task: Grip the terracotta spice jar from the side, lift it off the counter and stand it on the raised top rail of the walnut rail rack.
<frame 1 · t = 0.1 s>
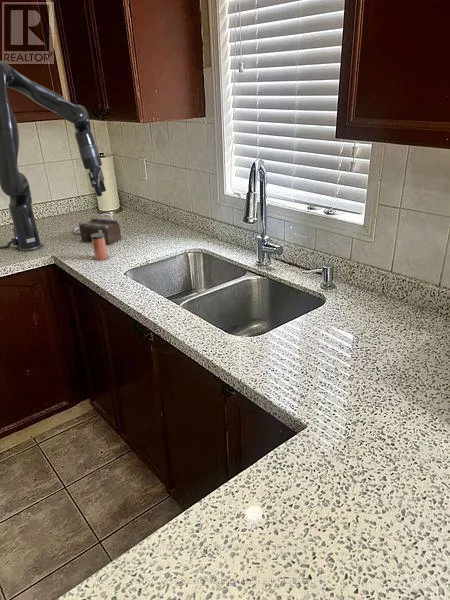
hand: (101, 193, 194), 22 cm above the worktop, tool pointing down, fingers open, 8 cm apart
spice jar: (101, 257, 186), on the worktop
rail rack: (101, 239, 208), on the worktop
hook: (94, 229, 225), on the worktop
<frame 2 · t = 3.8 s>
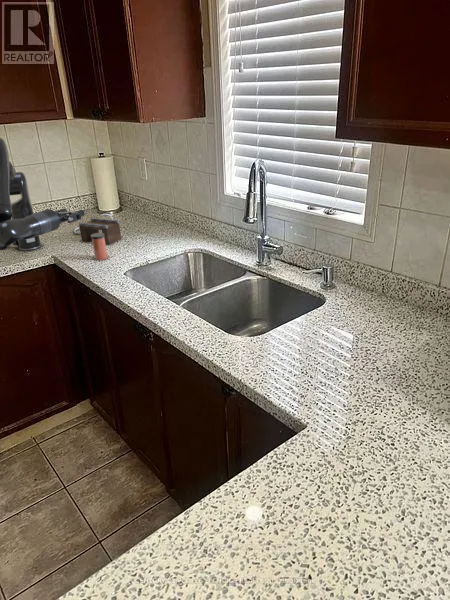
hand: (74, 211, 168), 22 cm above the worktop, tool horizontal, fingers open, 8 cm apart
nothing on the worktop moved.
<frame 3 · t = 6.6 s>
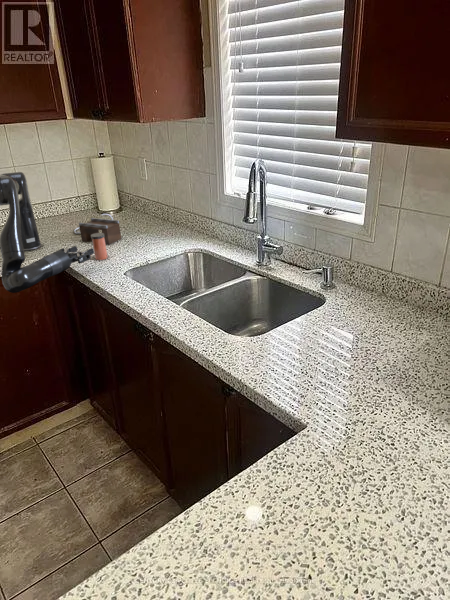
hand: (84, 249, 177), 7 cm above the worktop, tool horizontal, fingers open, 8 cm apart
nothing on the worktop moved.
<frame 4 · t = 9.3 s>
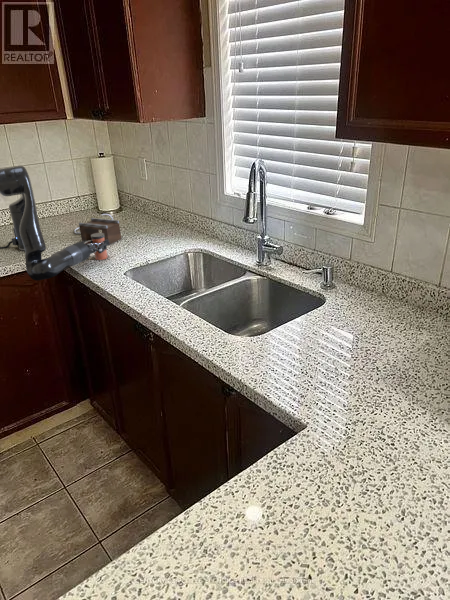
hand: (103, 241, 186), 7 cm above the worktop, tool horizontal, fingers closed on spice jar, 5 cm apart
spice jar: (101, 257, 186), on the worktop, touching gripper
everything else where it was.
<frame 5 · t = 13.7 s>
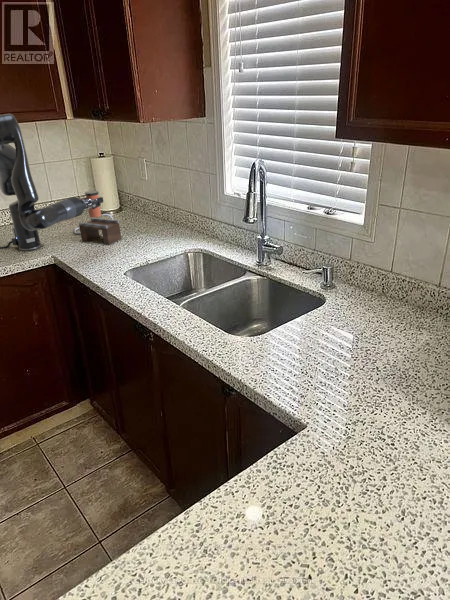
hand: (97, 199, 188), 22 cm above the worktop, tool horizontal, fingers closed on spice jar, 5 cm apart
spice jar: (95, 215, 189), point 15 cm above the worktop, touching gripper
everything else where it was.
when the fingers open (14 cm above the worktop, at t = 18.2 s): spice jar stays where it is, resting on rail rack.
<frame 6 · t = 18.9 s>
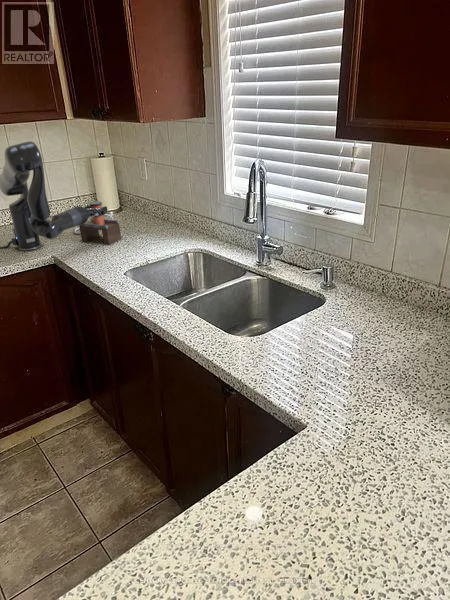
hand: (99, 207, 204), 15 cm above the worktop, tool horizontal, fingers open, 8 cm apart
spice jar: (99, 224, 205), point 7 cm above the worktop, touching rail rack
everything else where it was.
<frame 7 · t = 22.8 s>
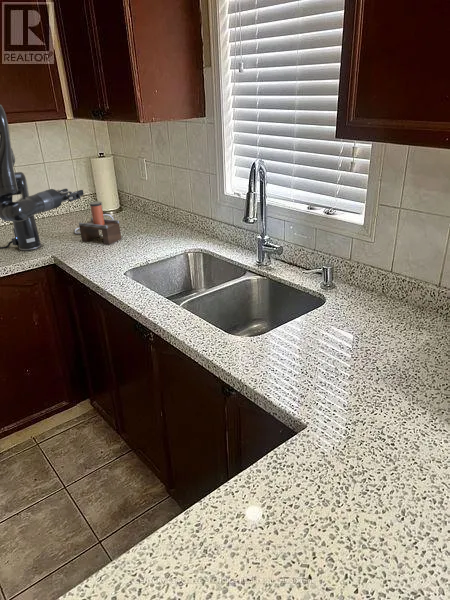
hand: (74, 191, 189), 25 cm above the worktop, tool horizontal, fingers open, 8 cm apart
nothing on the worktop moved.
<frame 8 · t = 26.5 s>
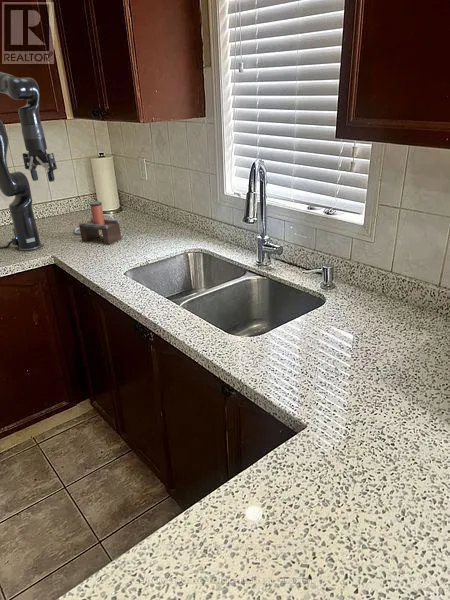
hand: (43, 180, 174), 32 cm above the worktop, tool pointing down, fingers open, 8 cm apart
nothing on the worktop moved.
at the end: spice jar inside the target area on the rail rack (0.1 cm from its centre), point 7.5 cm above the rail rack's base; spice jar tilted 0°; the gripper is holding nothing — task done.
